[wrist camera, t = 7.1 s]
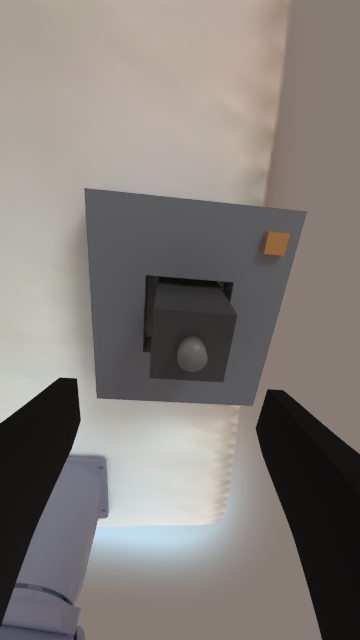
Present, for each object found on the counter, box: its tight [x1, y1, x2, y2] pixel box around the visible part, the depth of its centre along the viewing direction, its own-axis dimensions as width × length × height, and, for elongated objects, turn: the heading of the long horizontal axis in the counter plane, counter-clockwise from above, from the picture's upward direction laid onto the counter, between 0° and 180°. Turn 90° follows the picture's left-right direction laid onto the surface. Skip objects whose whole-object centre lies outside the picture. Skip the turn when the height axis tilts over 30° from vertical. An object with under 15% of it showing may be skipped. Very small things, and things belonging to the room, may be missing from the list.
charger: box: [149, 276, 237, 382], centre depth 15 cm, size 4×4×7 cm
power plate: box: [85, 188, 307, 406], centre depth 17 cm, size 14×12×2 cm
